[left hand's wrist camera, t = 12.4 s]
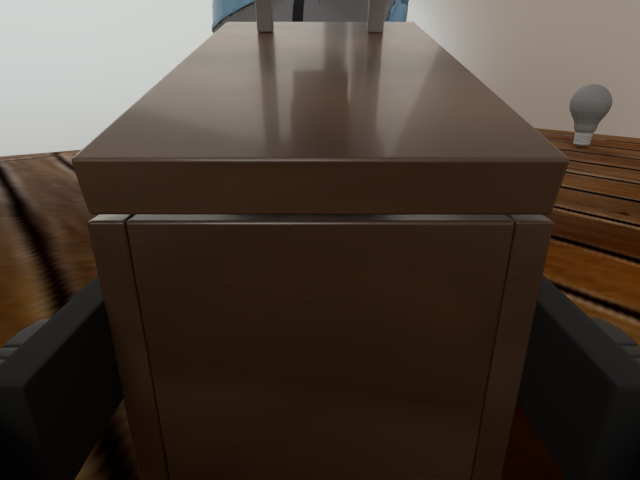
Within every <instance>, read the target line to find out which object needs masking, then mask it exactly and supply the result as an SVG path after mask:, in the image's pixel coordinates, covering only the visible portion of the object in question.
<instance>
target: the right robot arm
mask: <svg viewBox="0 0 640 480" xmlns="http://www.w3.org/2000/svg"><path fill="white" fill-rule="evenodd" d="M408 1H409V0H386V1H385V14H384V22H406V18H407V11H408ZM272 6H273V22H367V13H368V0H272ZM212 8H213V25H212V32H213V34H214V33H215V32H216V31H217V30H218V29H219V28H220V27H222V26H223V25H224V24H225V23H226V22H257V21H256V7H255V0H213V4H212Z"/></svg>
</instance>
